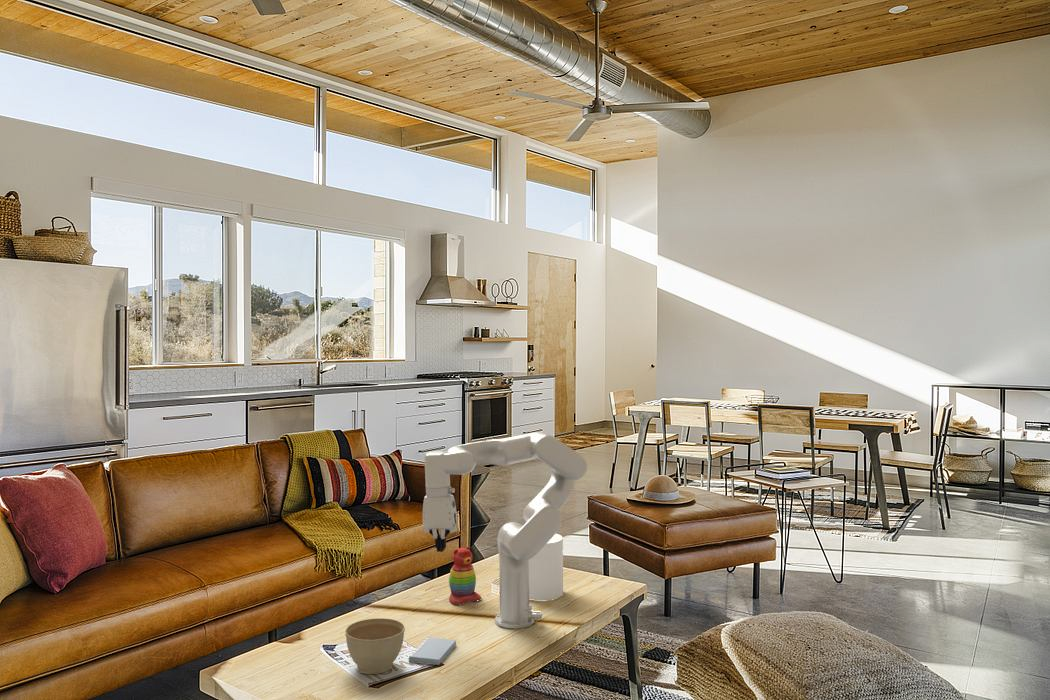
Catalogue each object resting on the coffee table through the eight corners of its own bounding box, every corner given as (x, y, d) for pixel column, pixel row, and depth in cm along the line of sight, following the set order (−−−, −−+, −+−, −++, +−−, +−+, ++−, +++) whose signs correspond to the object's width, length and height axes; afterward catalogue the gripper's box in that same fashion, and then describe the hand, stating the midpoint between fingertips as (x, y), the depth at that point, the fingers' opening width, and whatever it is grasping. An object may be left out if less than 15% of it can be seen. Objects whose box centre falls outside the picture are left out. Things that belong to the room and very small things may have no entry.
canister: (572, 592, 269) (572, 536, 269) (543, 604, 257) (543, 546, 257) (537, 583, 280) (537, 529, 279) (508, 594, 268) (508, 538, 267)
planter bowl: (393, 682, 199) (393, 641, 199) (335, 678, 202) (335, 637, 202) (412, 657, 215) (412, 619, 215) (359, 653, 218) (359, 616, 218)
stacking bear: (454, 606, 256) (454, 554, 256) (442, 597, 265) (442, 547, 265) (483, 600, 261) (483, 549, 261) (470, 592, 270) (470, 542, 270)
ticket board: (456, 645, 224) (455, 639, 224) (439, 664, 210) (438, 659, 210) (427, 642, 226) (427, 637, 226) (408, 661, 212) (408, 656, 212)
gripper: (464, 489, 235) (467, 547, 236) (419, 489, 238) (422, 546, 239) (457, 494, 228) (460, 554, 228) (411, 494, 231) (413, 553, 232)
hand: (441, 550), depth 234 cm, fingers closed
